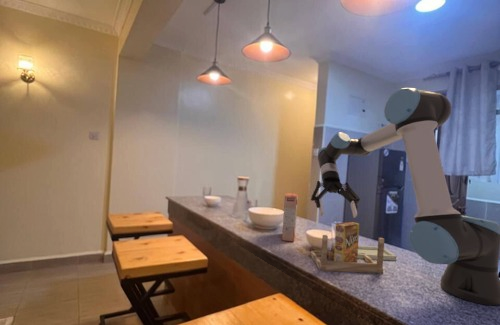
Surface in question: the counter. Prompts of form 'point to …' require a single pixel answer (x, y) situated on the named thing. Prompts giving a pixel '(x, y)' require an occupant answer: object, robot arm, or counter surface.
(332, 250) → the rack
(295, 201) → the cracker box
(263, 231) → the counter surface
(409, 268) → the counter surface
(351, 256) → the candy box
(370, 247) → the tray
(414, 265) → the counter surface
